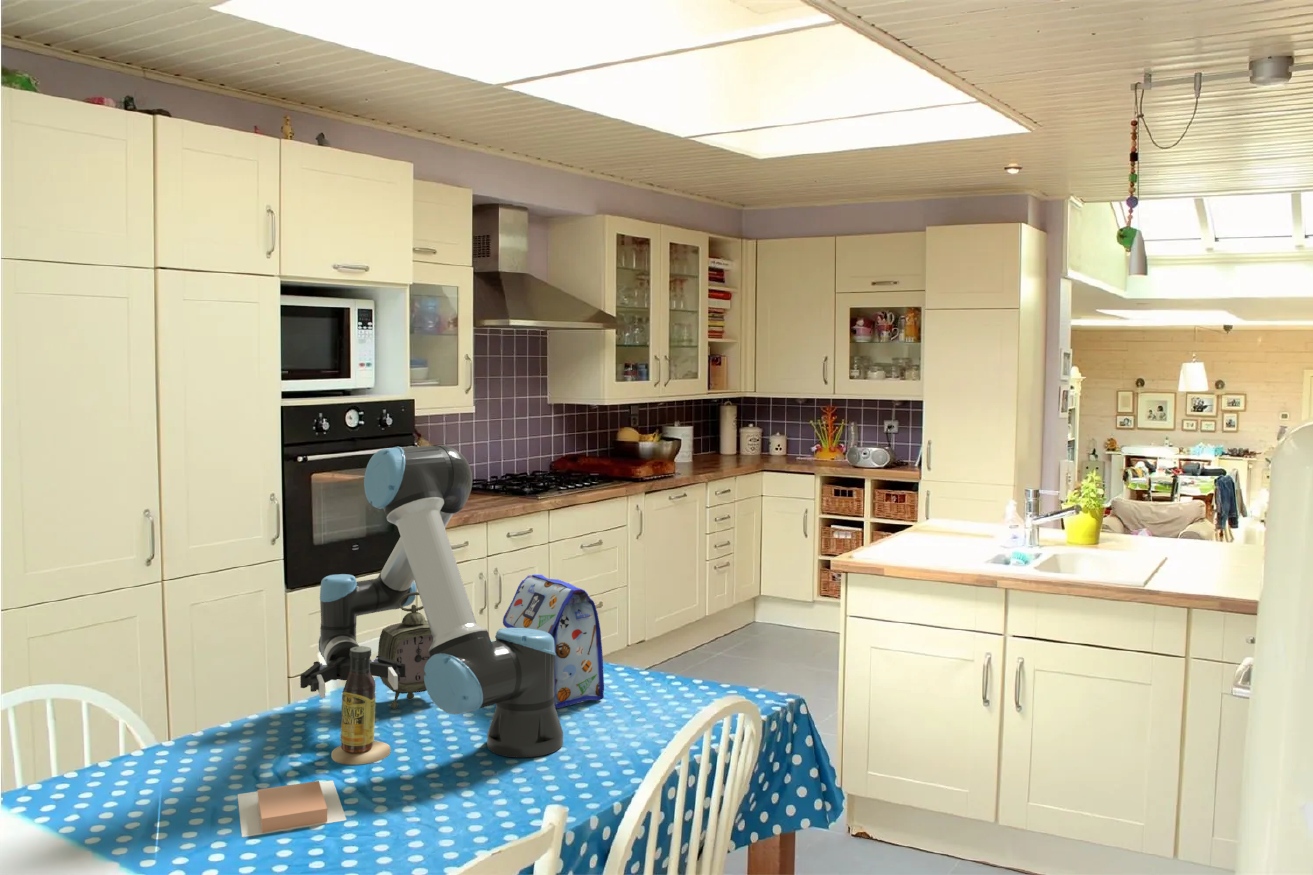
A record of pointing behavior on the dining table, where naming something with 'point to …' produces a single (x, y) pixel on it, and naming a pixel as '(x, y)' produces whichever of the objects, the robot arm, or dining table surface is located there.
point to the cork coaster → (362, 754)
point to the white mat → (253, 827)
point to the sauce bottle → (358, 703)
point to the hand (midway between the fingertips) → (359, 686)
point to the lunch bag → (563, 634)
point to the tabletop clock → (407, 650)
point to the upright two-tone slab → (291, 806)
